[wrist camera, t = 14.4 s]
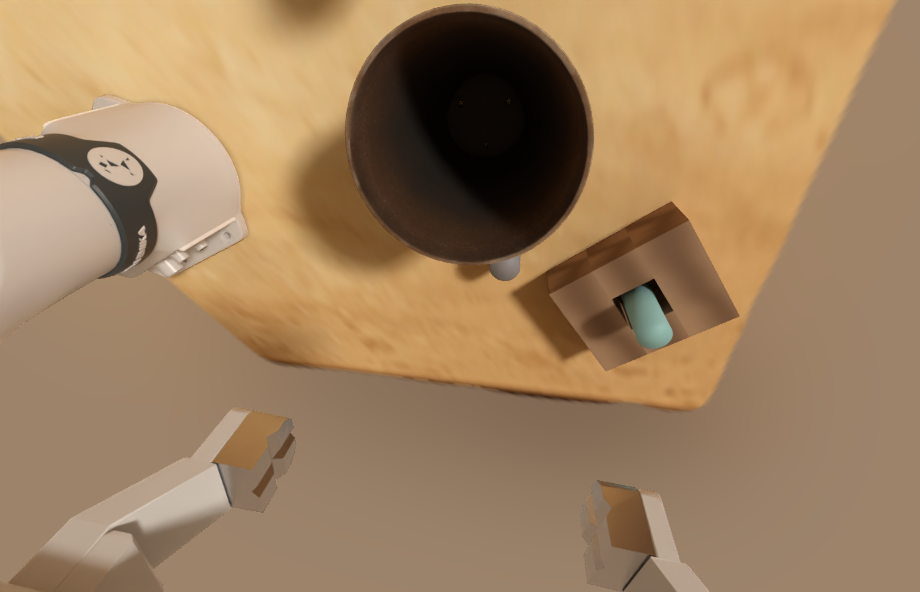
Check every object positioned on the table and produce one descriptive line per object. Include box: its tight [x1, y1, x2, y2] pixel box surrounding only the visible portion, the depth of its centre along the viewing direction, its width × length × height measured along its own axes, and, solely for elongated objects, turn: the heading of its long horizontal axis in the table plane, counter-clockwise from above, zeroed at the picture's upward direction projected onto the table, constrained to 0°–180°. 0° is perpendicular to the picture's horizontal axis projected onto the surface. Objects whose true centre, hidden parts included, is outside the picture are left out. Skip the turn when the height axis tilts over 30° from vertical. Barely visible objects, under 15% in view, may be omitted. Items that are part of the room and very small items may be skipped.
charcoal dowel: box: [490, 255, 520, 281], centre depth 42 cm, size 3×3×5 cm
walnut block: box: [547, 202, 739, 371], centre depth 42 cm, size 14×12×5 cm
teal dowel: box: [620, 282, 673, 349], centre depth 40 cm, size 3×3×10 cm
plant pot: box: [345, 4, 594, 265], centre depth 31 cm, size 15×15×16 cm
